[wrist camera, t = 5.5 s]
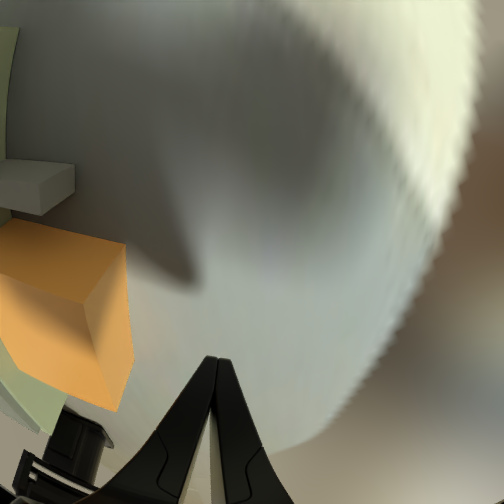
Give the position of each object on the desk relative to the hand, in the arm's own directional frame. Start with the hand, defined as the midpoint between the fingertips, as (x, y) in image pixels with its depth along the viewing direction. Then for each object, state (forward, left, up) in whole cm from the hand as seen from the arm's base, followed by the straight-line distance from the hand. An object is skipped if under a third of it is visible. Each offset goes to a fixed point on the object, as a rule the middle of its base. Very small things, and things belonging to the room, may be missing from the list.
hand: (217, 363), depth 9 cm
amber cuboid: (-1, +7, -3) cm, 7 cm away
